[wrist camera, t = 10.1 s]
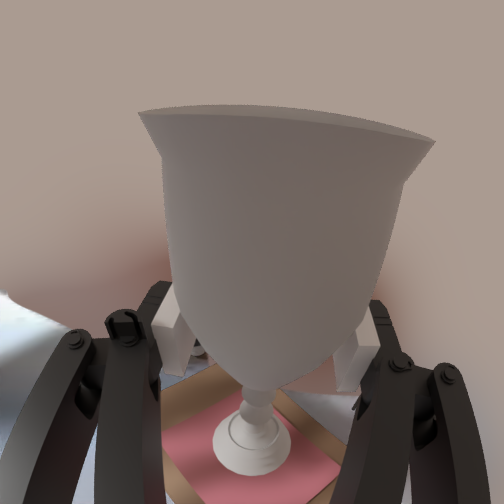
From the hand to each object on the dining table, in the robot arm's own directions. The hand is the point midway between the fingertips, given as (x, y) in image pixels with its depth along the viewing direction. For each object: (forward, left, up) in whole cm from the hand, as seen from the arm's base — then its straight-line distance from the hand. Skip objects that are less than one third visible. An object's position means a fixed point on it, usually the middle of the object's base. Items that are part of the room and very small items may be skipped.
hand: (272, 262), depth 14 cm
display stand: (+4, -4, -21) cm, 21 cm away
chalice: (+4, -4, -11) cm, 12 cm away
